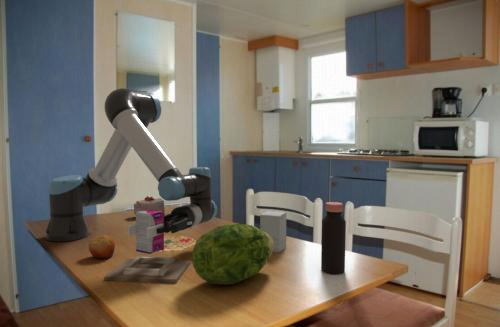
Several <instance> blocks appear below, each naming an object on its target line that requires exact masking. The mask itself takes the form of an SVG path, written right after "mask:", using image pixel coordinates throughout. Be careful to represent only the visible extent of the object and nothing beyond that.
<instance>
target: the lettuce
mask: <svg viewBox="0 0 500 327" xmlns="http://www.w3.org/2000/svg"><path fill="white" fill-rule="evenodd" d="M273 248H274V242H273V239H272V238H271V237H270V235H269V234H267V233H266V232H264V231H262V230H260V227H259V228H258V227H257V226H254V225H251V224H244V223H231V224H230V223H229V224H222V225H220V226H217V227H215V228H213V229H211V230H210V231H207V232H206V233H204V234H202V235H201V236H200V237H199V238H198V239H197V240H196V242H195V244H194V246H193V248H192V252H191V261H192V265H193V269H194V270H195V273H196V274H197V275H198V277H199V278H200V279H202V280H203V281H205V282H206V283H209V284H212V285H235V284H237V283H240V282H243V281H244V280H247V279H248V278H251V277H253V276H256V275H257V274H258V273H259V272H260V271H261V270H262V269H263V268H264V266H265V265H266V264H267V262H268V261H269V259H270V258H271V256H272V254H273Z"/></svg>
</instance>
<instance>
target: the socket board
mask: <svg viewBox="0 0 500 327" xmlns="http://www.w3.org/2000/svg"><path fill="white" fill-rule="evenodd" d="M190 265H191V260H186V259H181V260H180V259H179V260H178V259H175V257H165V256H164V257H162V256H136V258H127V259H125V260H123V262H121V263H120V264H118V265H117V266H116V267H114V268H113V269H112V270H111V271H110V272H108V273H107V274H106V275H104V276H103V278H104V279H103V280H104V281H114V282H115V281H117V282H138V283H139V282H141V283H163V284H165V283H166V284H177V283H178V281H179V280H180V279H181V277H182V276H183V275H184V273H185V272H186V270H187V269H188V268H189V266H190Z"/></svg>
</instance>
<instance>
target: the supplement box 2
mask: <svg viewBox="0 0 500 327" xmlns="http://www.w3.org/2000/svg"><path fill="white" fill-rule="evenodd" d="M259 219H260V220H259V221H260V222H259V226H260V227H259V229H260V230H262V231H264V232H266V233H267V234H269V235H270V237H271V238H272V239H273V242H274V248H273V252H274V253H281V252H282V251H283V250H285V249H286V248H287V212H283V211H270V210H267V211H265V212H263V213H261V214H260V216H259ZM273 252H272V253H273Z"/></svg>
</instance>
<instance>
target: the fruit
mask: <svg viewBox="0 0 500 327" xmlns="http://www.w3.org/2000/svg"><path fill="white" fill-rule="evenodd" d="M115 243H116V242H115V241H114V238H113V236H111V235H109V234H104V235H103V234H101V235H98V236H96V237H94V238H93V239H92V240H90V242H89V243H88V250H89V253H90V254H91V256H92V257H93V258H95V259H109V258H110V257H113V255H114V253H115V248H116V244H115Z"/></svg>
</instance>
